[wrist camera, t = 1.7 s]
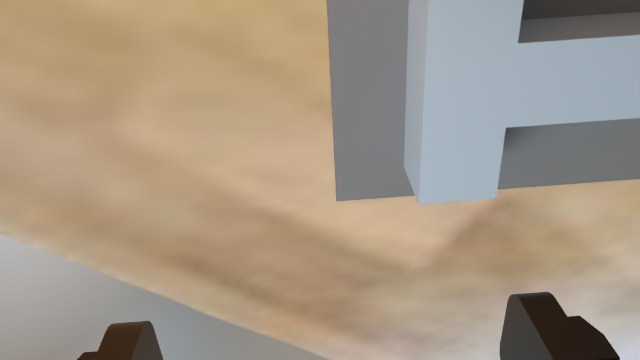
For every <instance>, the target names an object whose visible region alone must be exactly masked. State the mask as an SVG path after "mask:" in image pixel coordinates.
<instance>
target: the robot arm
mask: <svg viewBox="0 0 640 360" xmlns="http://www.w3.org/2000/svg"><path fill="white" fill-rule="evenodd" d="M500 359H501V360H620V357H619V356H618V354H617V353H616V352H615V350H614V349H613V347H612V346H611V344H610V343H609V342H608V340H607V339H606V337H605V336H604V335H603V334H602V333H601V332H600V331H598V330H597V329H596V328H595V327H593V326H592V325H591V324H589V323H588V322H587V321H586V320H584V319H583V318H582V317H581V316H571V317H567V316H566V314H565V312H564V311H563V309H562V308H561V306H560V305H559V303H558V302H557V300H556V299H555V297H554V296H553V295H552V294H551V293H549V292H540V293H527V294H513V295H511V296H510V297H509V299H508V303H507V309H506V314H505V320H504V325H503V331H502V336H501V342H500ZM77 360H163V357H162V354H161V351H160V348H159V344H158V341H157V338H156V335H155V331H154V328H153V325H152V324H151V322H150V321H142V322H128V323H115V324H111V325H110V326H109V327H108V329H107V330H106V333H105V335H104V337H103V340H102V342H101V345H100V347H99V350H98V352H85V353H83V354H82V355H81V356H80V357H79V358H78V359H77Z"/></svg>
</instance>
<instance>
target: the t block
mask: <svg viewBox="0 0 640 360" xmlns="http://www.w3.org/2000/svg"><path fill="white" fill-rule="evenodd" d="M523 3H524V0H409V10H408V44H407V77H406V111H405V144H404V169H405V172H406V174H407V177H408V179H409V182H410V184H411V187H412V189H413V192H414V194H415V197H416V199H417V202H418V204H433V203H446V202H460V201H473V200H487V199H496V195H497V188H498V181H499V174H500V167H501V160H502V152H503V145H504V138H505V131H506V128H509V127H522V126H536V125H550V124H564V123H577V122H591V121H605V120H619V119H632V118H640V12H628V13H614V14H600V15H586V16H571V17H557V18H543V19H529V20H521V17H522V10H523Z"/></svg>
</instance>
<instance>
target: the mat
mask: <svg viewBox="0 0 640 360" xmlns="http://www.w3.org/2000/svg"><path fill="white" fill-rule="evenodd" d="M408 10H409V0H327V14H328V35H329V55H330V76H331V96H332V117H333V137H334V158H335V178H336V198H337V201H347V200H360V199H374V198H387V197H401V196H414V195H415V194H414V192H413V189H412V187H411V184H410V182H409V179H408V177H407V174H406V172H405V169H404V144H405V111H406V77H407V44H408ZM628 12H640V0H524V3H523V10H522V17H521V20H529V19H543V18H557V17H571V16H586V15H600V14H614V13H628ZM630 179H640V118H632V119H619V120H605V121H591V122H577V123H564V124H550V125H536V126H522V127H509V128H506V131H505V138H504V145H503V152H502V160H501V167H500V174H499V181H498V188H497V189H509V188H522V187H536V186H549V185H563V184H576V183H590V182H603V181H617V180H630Z"/></svg>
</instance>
